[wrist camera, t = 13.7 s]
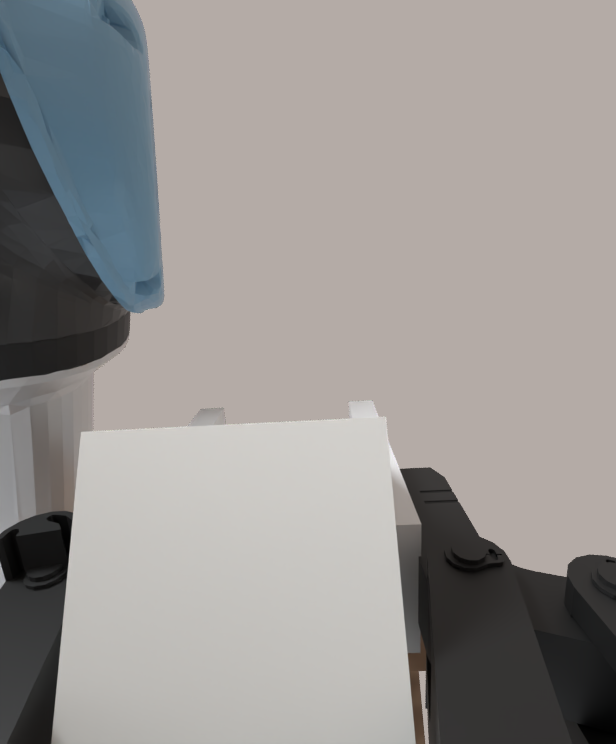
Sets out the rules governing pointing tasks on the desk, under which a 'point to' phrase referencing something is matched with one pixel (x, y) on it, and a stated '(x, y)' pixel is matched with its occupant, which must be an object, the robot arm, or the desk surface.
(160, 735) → the light grey bar
